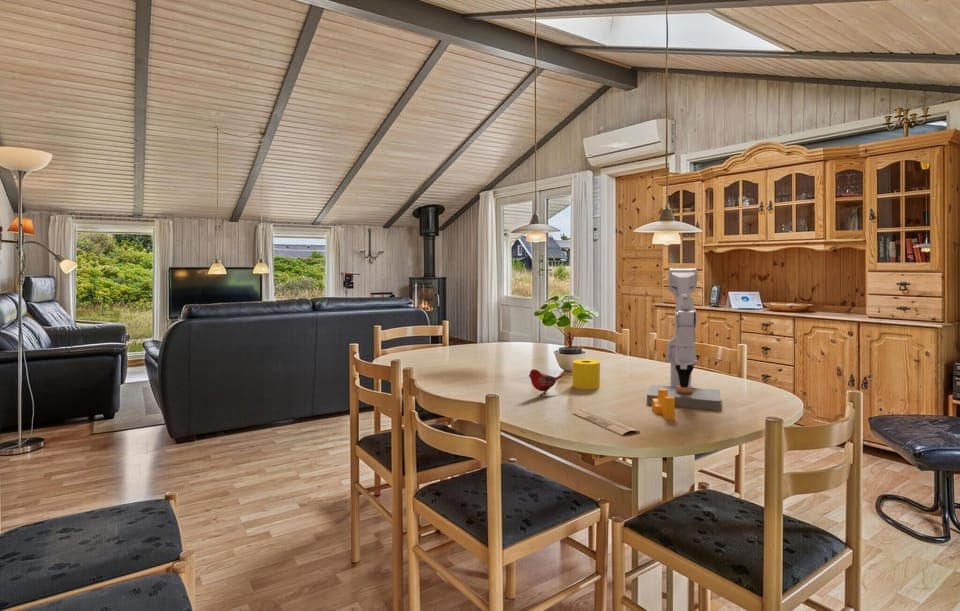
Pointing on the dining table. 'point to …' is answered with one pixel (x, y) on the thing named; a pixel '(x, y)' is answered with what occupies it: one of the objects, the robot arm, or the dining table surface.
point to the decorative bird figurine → (542, 381)
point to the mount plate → (689, 397)
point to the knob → (683, 389)
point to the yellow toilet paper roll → (586, 374)
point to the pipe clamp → (664, 404)
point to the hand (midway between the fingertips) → (684, 386)
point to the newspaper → (604, 422)
